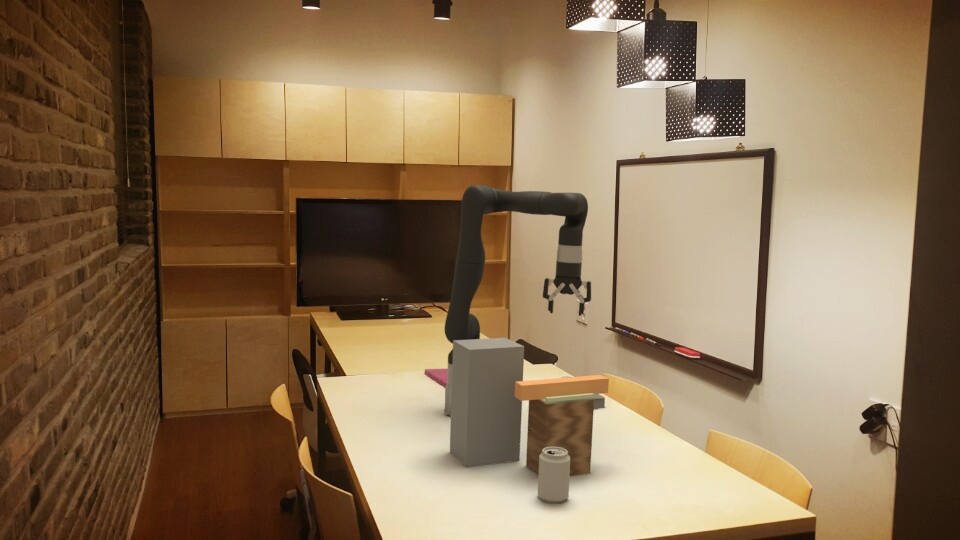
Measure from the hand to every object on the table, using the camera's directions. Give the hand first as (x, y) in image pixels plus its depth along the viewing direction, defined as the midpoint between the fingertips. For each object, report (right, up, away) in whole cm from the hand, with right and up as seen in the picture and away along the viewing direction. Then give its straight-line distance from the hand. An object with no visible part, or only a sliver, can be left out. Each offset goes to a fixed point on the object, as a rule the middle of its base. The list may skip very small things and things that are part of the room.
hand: (565, 314), depth 220 cm
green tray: (-4, -20, -25) cm, 33 cm away
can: (-8, -42, -41) cm, 60 cm away
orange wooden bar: (-4, -20, -25) cm, 32 cm away
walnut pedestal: (-5, -40, -23) cm, 47 cm away
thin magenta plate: (-27, -31, +61) cm, 74 cm away
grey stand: (-25, -39, -15) cm, 48 cm away
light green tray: (+4, -34, +40) cm, 53 cm away
